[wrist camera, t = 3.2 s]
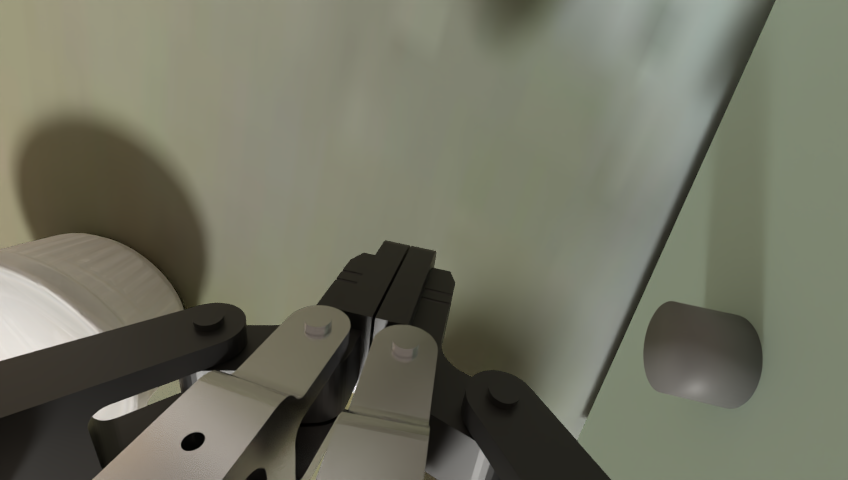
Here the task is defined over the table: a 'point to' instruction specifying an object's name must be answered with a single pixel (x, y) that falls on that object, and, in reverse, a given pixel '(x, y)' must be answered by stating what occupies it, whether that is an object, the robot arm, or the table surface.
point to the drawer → (748, 285)
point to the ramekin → (78, 296)
